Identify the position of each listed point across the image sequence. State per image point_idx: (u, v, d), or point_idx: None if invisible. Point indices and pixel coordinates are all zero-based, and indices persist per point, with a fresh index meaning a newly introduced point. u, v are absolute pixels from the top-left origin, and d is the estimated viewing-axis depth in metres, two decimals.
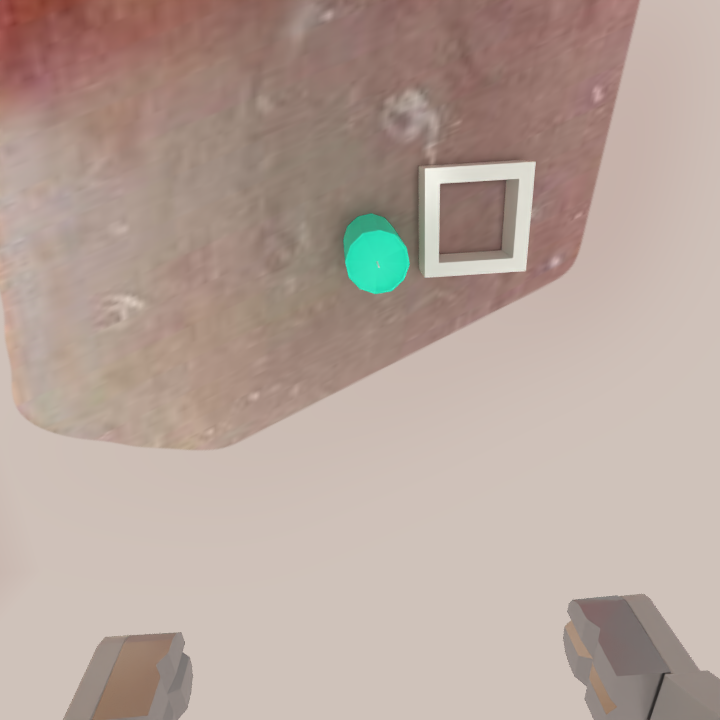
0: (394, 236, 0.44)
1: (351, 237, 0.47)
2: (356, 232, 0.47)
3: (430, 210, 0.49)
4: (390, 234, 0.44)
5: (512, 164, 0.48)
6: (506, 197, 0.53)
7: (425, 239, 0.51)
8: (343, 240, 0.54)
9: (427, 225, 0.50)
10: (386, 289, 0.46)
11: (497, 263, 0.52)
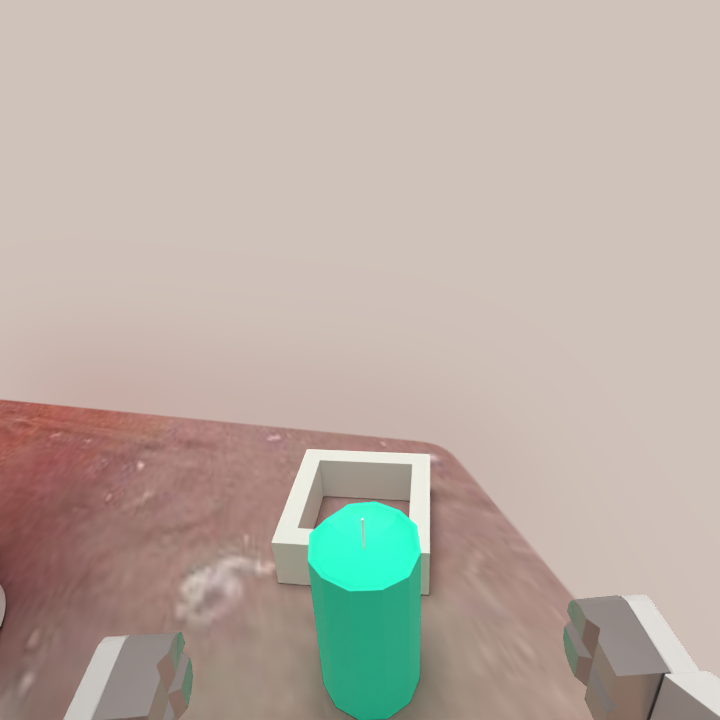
0: (327, 520, 0.27)
1: (322, 613, 0.25)
2: (317, 606, 0.25)
3: None
4: (322, 524, 0.27)
5: (302, 465, 0.42)
6: (347, 494, 0.44)
7: None
8: (357, 712, 0.27)
9: None
10: (413, 532, 0.26)
11: (417, 477, 0.40)
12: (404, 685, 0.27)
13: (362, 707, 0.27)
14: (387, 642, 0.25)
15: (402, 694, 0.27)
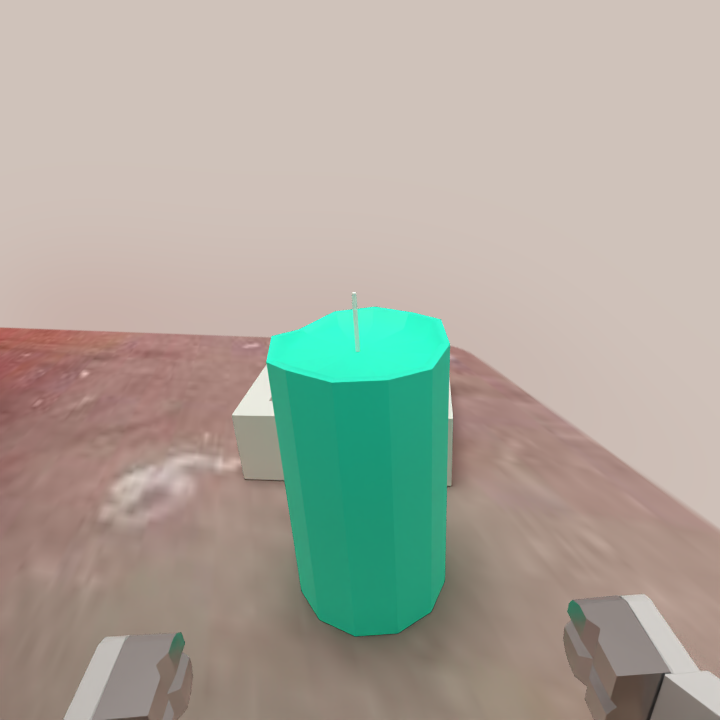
0: (302, 330, 0.18)
1: (292, 448, 0.15)
2: (284, 443, 0.16)
3: None
4: (294, 331, 0.17)
5: None
6: None
7: None
8: (352, 622, 0.17)
9: None
10: (436, 326, 0.16)
11: None
12: (423, 579, 0.17)
13: (359, 613, 0.17)
14: (397, 492, 0.15)
15: (420, 594, 0.18)
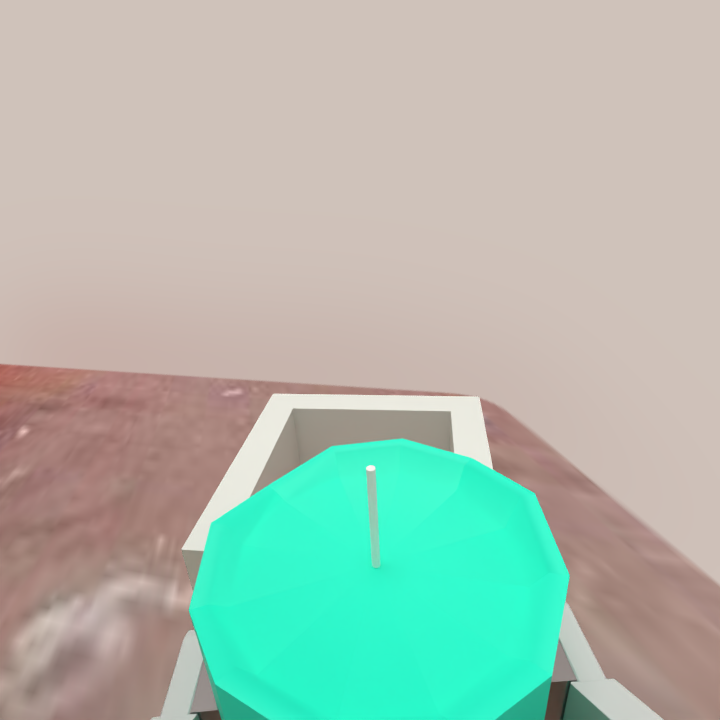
0: (274, 488, 0.10)
1: None
2: None
3: None
4: (257, 497, 0.10)
5: (262, 416, 0.24)
6: None
7: None
8: None
9: None
10: (529, 513, 0.08)
11: (462, 429, 0.22)
12: None
13: None
14: None
15: None
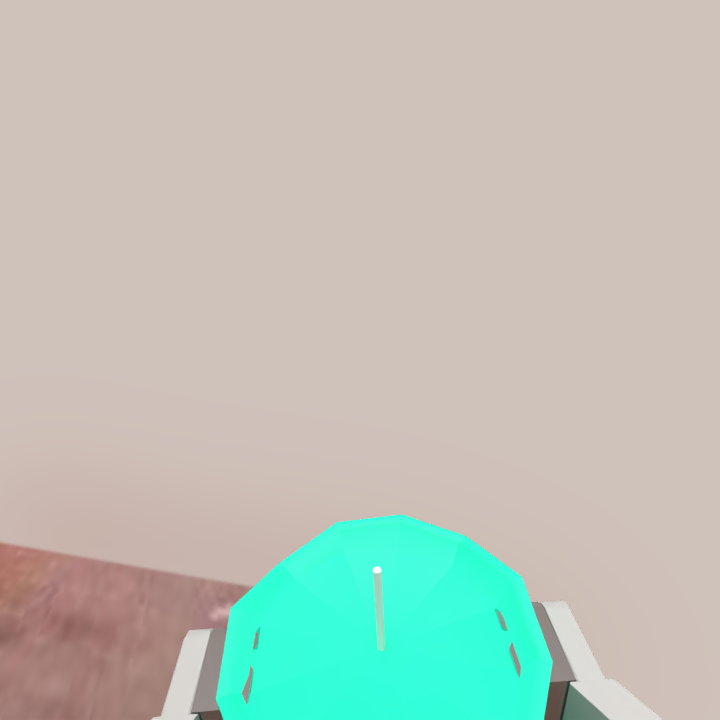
0: (285, 566, 0.11)
1: None
2: None
3: None
4: (270, 576, 0.10)
5: None
6: None
7: None
8: None
9: None
10: (517, 598, 0.09)
11: None
12: None
13: None
14: None
15: None
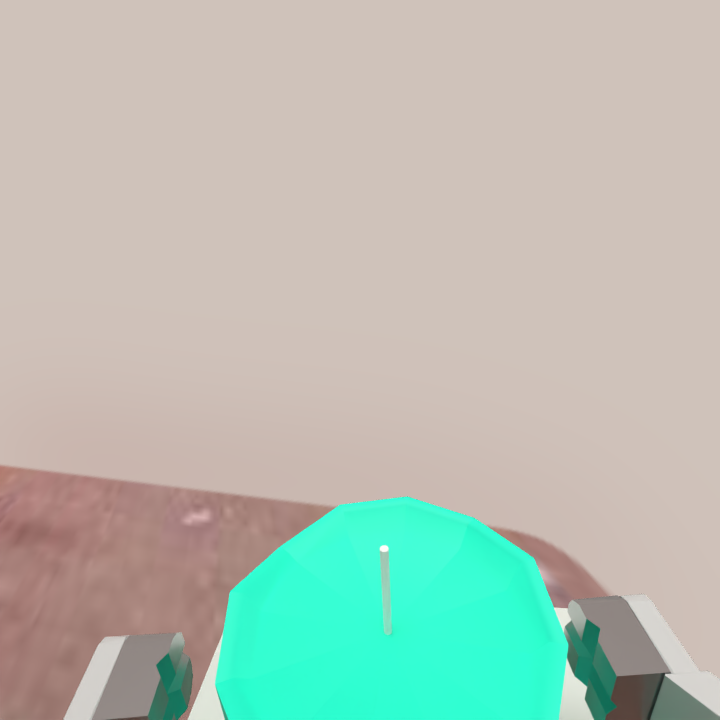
0: (286, 549, 0.10)
1: None
2: None
3: None
4: (271, 560, 0.10)
5: None
6: None
7: None
8: None
9: None
10: (530, 579, 0.09)
11: (562, 711, 0.13)
12: None
13: None
14: None
15: None
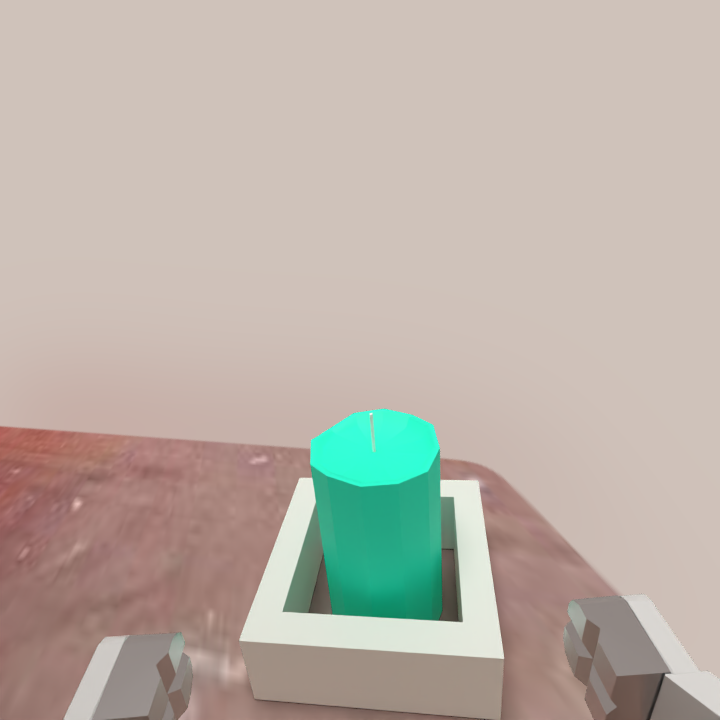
0: (331, 430, 0.24)
1: (330, 524, 0.22)
2: (323, 519, 0.22)
3: (334, 633, 0.21)
4: (325, 432, 0.24)
5: (292, 502, 0.29)
6: None
7: (401, 651, 0.20)
8: None
9: (367, 642, 0.20)
10: (429, 431, 0.23)
11: (464, 517, 0.26)
12: (426, 612, 0.24)
13: None
14: (405, 554, 0.21)
15: None
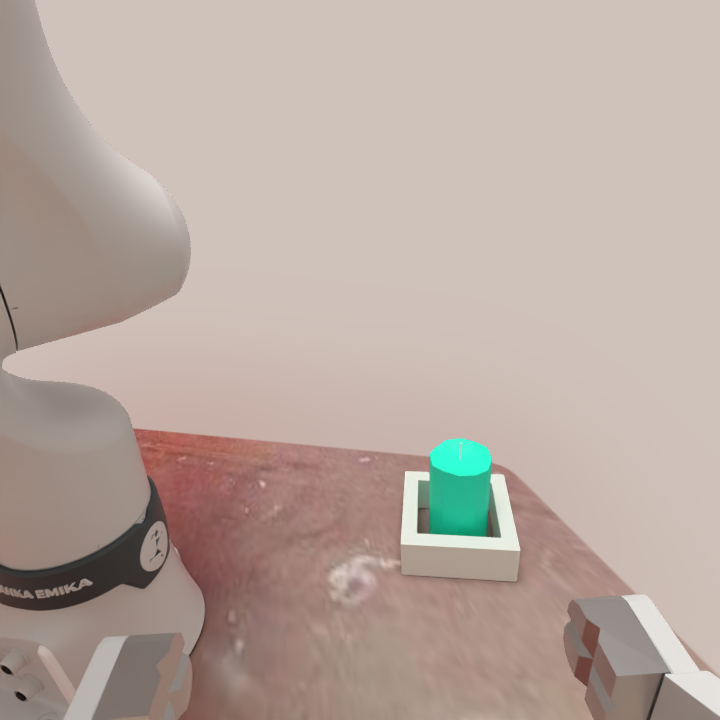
0: (436, 448, 0.49)
1: (440, 493, 0.47)
2: (436, 491, 0.48)
3: (443, 541, 0.46)
4: (434, 450, 0.49)
5: (405, 484, 0.54)
6: None
7: (475, 548, 0.45)
8: None
9: (459, 544, 0.46)
10: (486, 451, 0.48)
11: (497, 493, 0.52)
12: None
13: None
14: (475, 507, 0.47)
15: None
